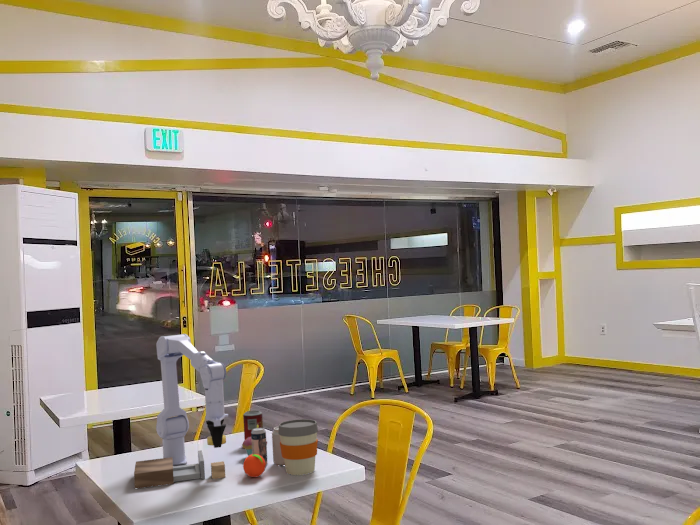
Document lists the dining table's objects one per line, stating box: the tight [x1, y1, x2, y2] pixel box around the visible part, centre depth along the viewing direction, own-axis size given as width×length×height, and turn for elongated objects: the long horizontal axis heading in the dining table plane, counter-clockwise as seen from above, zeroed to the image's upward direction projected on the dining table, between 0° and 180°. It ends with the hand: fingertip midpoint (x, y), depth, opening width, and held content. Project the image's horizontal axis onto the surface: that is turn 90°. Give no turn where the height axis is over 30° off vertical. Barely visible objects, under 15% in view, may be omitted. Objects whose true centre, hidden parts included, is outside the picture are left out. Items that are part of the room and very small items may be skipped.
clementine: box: [242, 454, 267, 478], centre depth 205 cm, size 8×7×7 cm
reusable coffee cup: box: [278, 418, 319, 476], centre depth 209 cm, size 12×13×15 cm
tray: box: [173, 450, 206, 483], centre depth 211 cm, size 14×12×6 cm
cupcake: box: [241, 425, 268, 457], centre depth 229 cm, size 9×8×12 cm
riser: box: [210, 460, 226, 480], centre depth 208 cm, size 4×4×4 cm
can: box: [271, 425, 285, 467], centre depth 219 cm, size 8×8×12 cm
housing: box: [133, 457, 175, 489], centre depth 208 cm, size 15×11×4 cm
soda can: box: [242, 410, 264, 441], centre depth 247 cm, size 7×7×12 cm
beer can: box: [251, 427, 268, 466], centre depth 217 cm, size 5×5×12 cm
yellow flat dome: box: [206, 434, 227, 446], centre depth 208 cm, size 6×6×2 cm
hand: (216, 444), depth 208 cm, fingers closed on yellow flat dome, 6 cm apart
